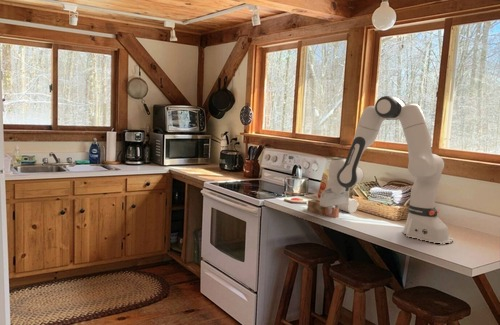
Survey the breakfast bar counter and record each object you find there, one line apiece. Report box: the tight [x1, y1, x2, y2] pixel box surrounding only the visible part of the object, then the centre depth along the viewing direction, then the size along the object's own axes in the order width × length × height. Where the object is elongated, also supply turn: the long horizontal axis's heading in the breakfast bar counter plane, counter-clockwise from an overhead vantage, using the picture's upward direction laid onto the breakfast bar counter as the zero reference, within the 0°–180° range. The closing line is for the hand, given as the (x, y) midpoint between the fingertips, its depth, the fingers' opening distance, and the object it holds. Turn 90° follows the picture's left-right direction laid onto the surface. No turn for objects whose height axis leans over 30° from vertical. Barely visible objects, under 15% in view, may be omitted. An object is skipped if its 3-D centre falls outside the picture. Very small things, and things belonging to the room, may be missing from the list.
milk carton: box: [316, 167, 329, 199], centre depth 281 cm, size 9×9×20 cm
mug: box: [339, 197, 360, 214], centre depth 255 cm, size 12×10×8 cm
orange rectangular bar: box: [324, 206, 340, 218], centre depth 243 cm, size 15×2×4 cm, turn 40°
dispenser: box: [306, 198, 325, 216], centre depth 246 cm, size 10×9×6 cm
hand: (333, 213), depth 239 cm, fingers closed on orange rectangular bar, 2 cm apart
